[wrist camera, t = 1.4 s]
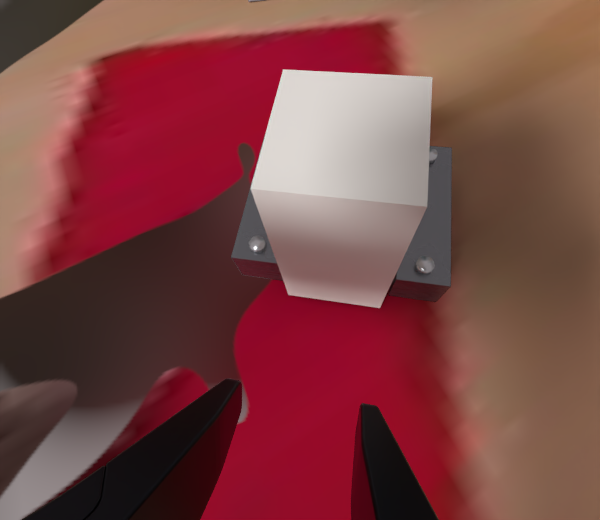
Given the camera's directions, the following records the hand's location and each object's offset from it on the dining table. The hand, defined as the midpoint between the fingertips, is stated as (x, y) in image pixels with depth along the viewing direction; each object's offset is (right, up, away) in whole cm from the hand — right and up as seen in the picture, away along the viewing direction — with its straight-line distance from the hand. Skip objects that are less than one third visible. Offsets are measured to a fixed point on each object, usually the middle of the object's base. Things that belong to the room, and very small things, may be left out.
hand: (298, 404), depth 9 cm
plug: (+3, +4, +15) cm, 16 cm away
